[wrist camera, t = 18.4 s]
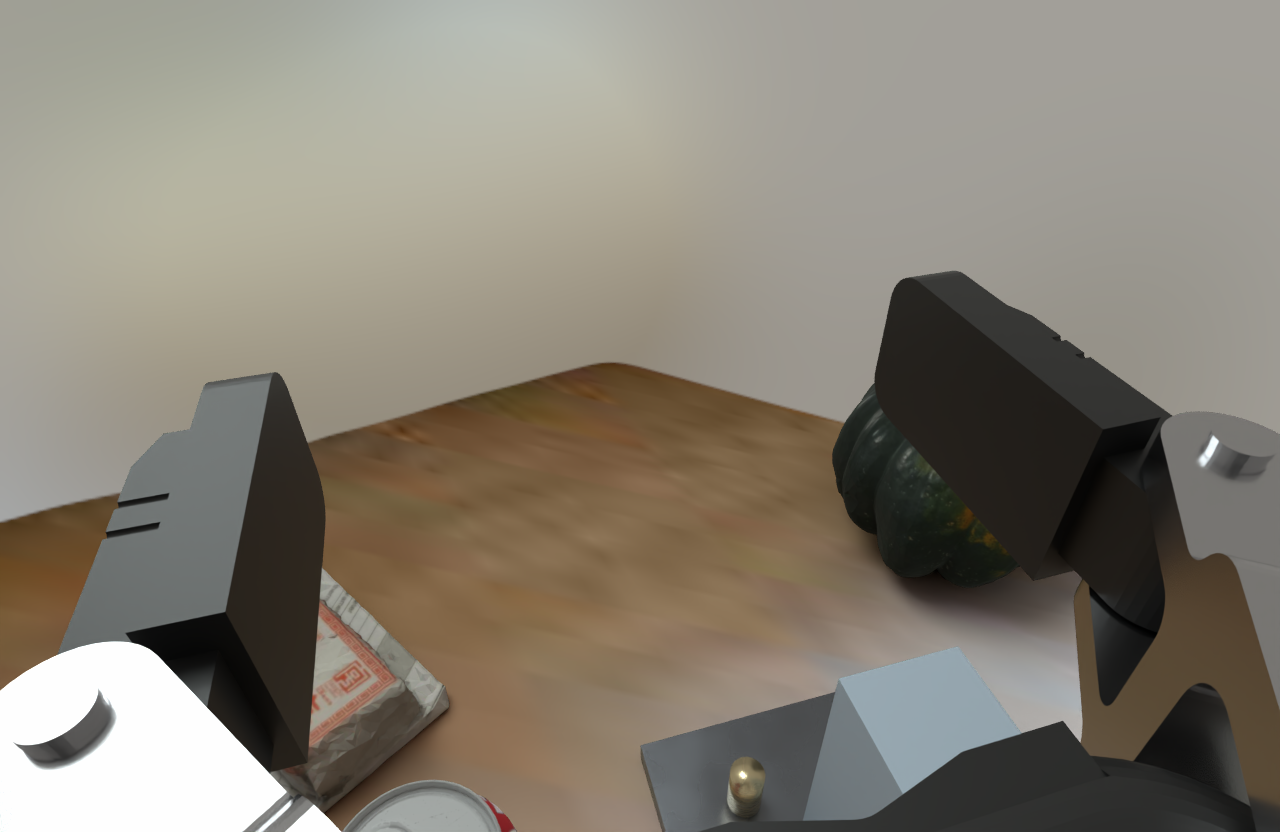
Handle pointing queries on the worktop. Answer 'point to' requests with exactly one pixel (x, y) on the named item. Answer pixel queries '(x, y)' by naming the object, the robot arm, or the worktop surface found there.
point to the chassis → (738, 768)
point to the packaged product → (358, 701)
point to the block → (900, 732)
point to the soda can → (430, 811)
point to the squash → (910, 504)
